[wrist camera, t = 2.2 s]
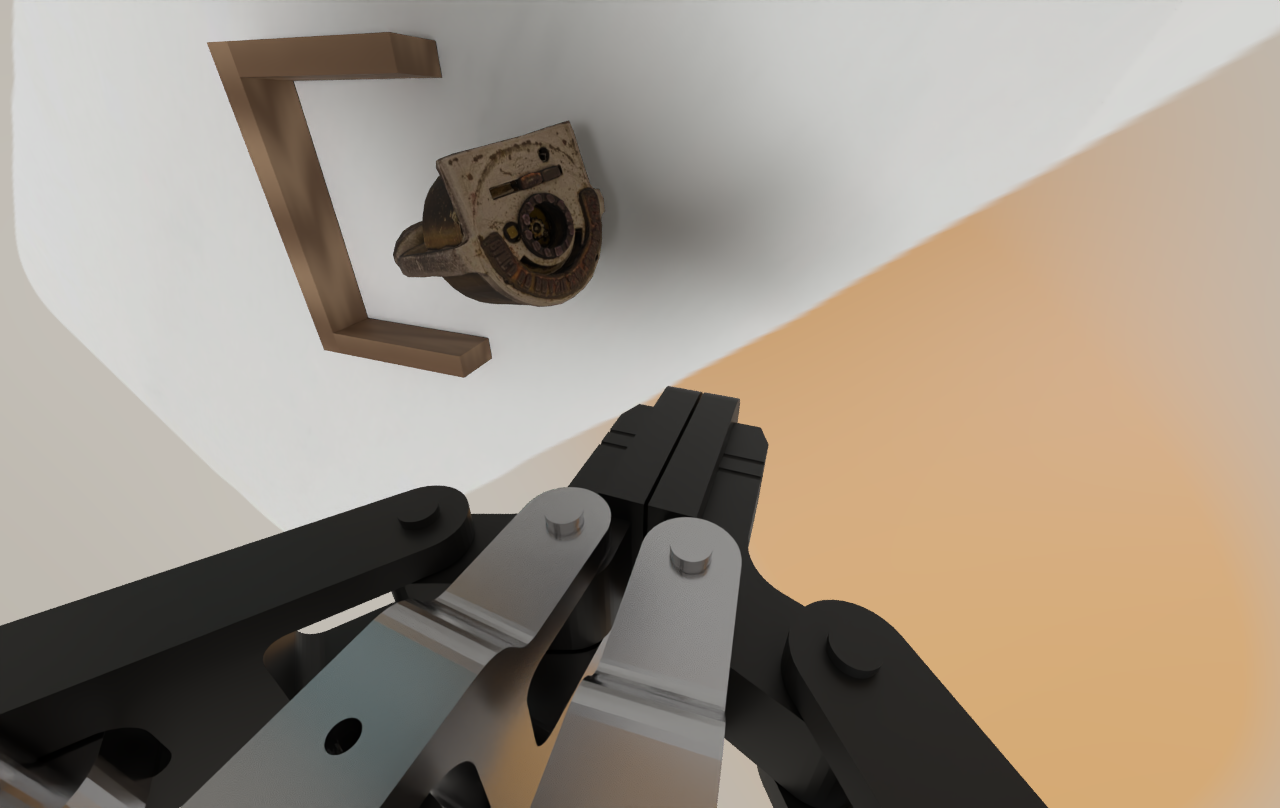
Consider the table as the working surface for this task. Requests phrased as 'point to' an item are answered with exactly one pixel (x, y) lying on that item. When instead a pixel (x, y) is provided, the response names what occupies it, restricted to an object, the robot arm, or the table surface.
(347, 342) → the bracket
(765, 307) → the table surface
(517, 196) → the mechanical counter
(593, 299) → the table surface
